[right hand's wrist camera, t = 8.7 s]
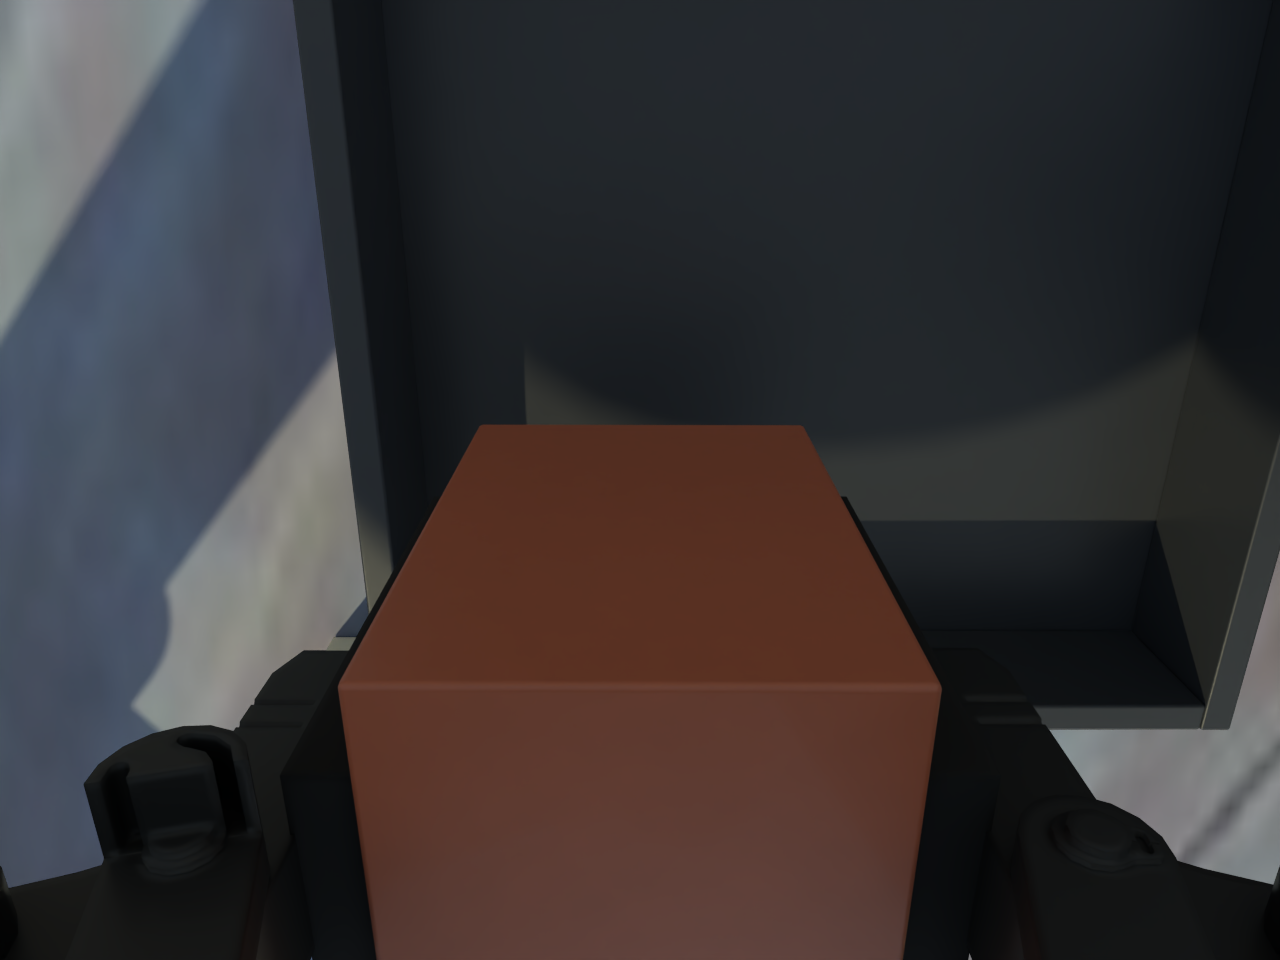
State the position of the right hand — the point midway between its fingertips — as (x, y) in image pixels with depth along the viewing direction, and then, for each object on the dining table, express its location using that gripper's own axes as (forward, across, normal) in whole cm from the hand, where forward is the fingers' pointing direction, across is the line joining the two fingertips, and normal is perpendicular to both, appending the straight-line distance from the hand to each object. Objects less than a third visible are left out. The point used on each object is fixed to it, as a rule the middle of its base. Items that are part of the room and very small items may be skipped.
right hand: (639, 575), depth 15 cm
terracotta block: (0, 0, 0) cm, 0 cm away
